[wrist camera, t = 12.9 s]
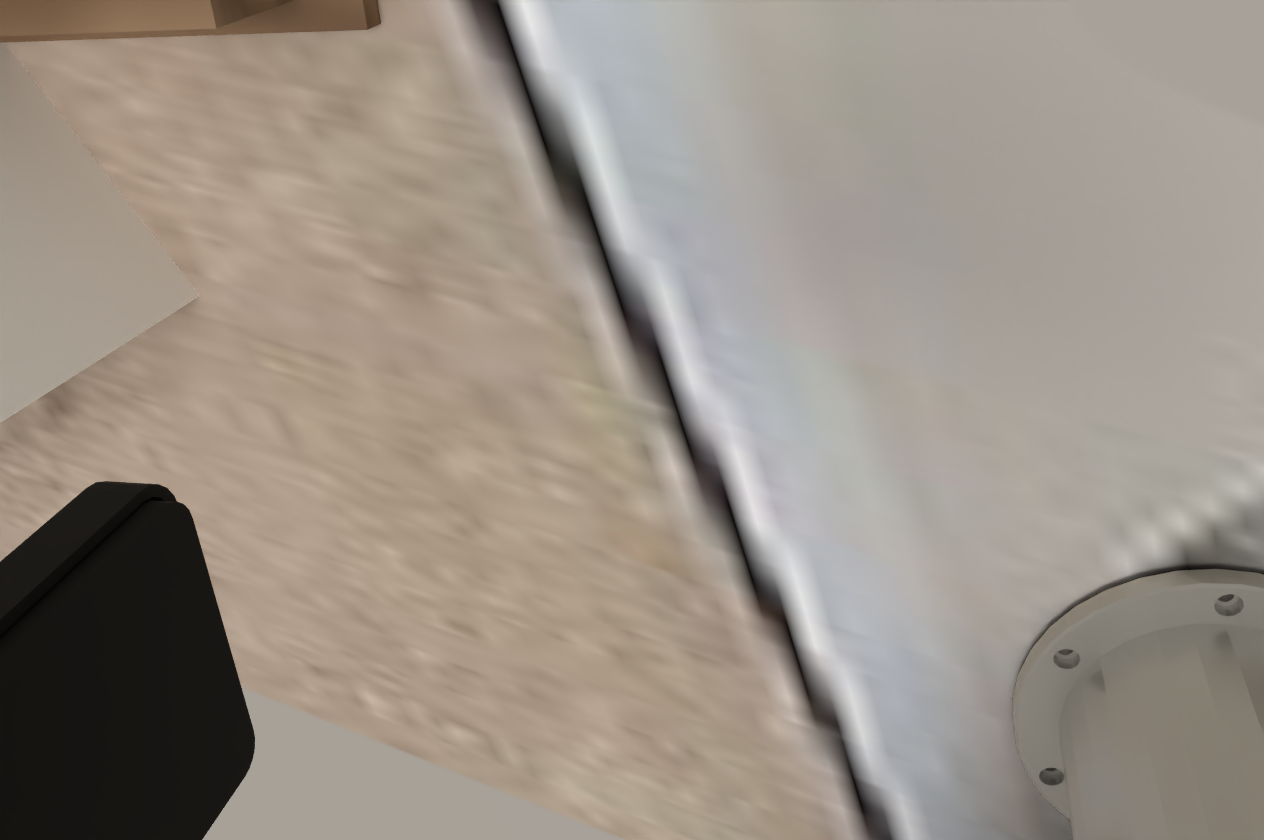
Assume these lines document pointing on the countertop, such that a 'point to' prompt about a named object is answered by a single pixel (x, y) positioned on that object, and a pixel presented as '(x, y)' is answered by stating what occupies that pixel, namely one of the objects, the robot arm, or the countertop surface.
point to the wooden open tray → (177, 18)
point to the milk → (66, 251)
